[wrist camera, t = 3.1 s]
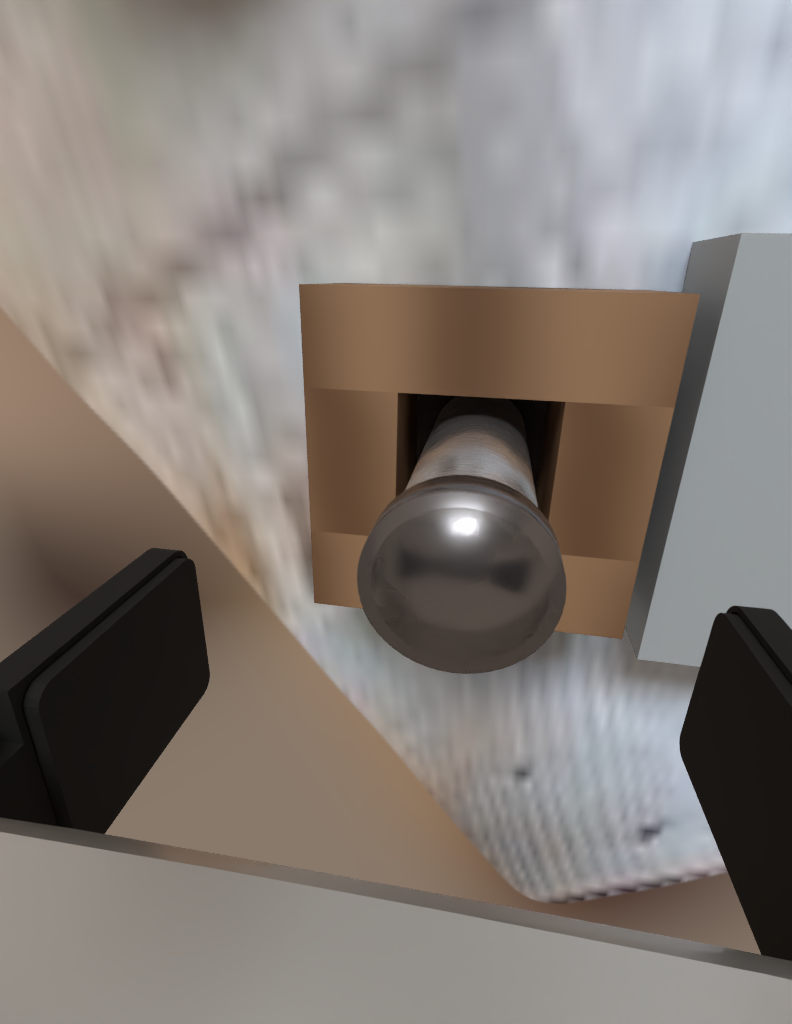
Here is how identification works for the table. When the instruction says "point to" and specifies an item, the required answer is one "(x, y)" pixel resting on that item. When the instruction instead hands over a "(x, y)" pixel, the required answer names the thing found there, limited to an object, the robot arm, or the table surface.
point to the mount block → (495, 374)
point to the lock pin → (465, 548)
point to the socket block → (723, 456)
